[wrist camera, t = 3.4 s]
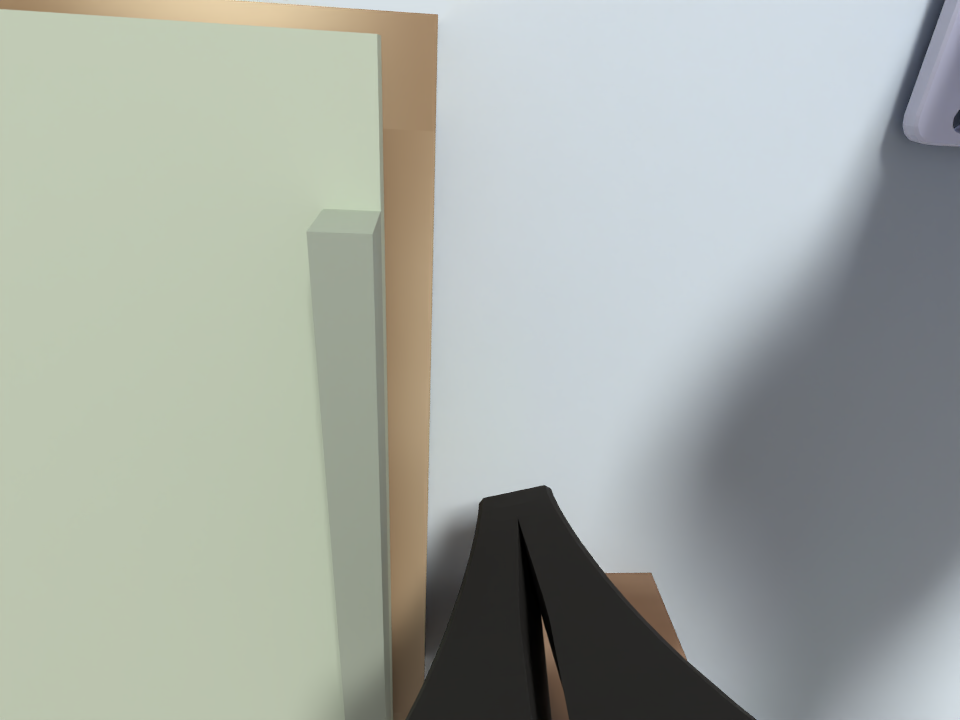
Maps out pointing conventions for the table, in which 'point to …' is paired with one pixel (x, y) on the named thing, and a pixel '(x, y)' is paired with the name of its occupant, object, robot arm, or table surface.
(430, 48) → the wooden frame
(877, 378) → the table surface
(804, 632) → the table surface
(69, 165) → the lid
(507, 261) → the table surface
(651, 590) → the walnut cube
